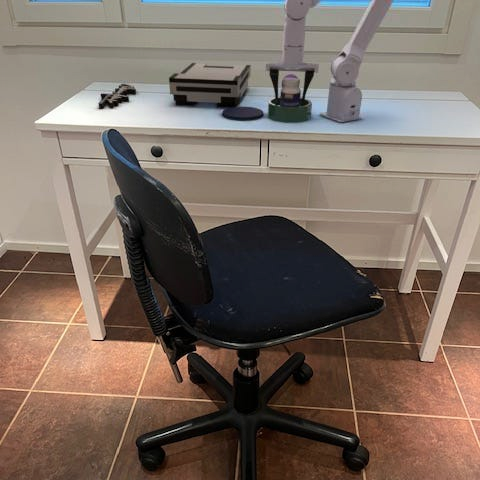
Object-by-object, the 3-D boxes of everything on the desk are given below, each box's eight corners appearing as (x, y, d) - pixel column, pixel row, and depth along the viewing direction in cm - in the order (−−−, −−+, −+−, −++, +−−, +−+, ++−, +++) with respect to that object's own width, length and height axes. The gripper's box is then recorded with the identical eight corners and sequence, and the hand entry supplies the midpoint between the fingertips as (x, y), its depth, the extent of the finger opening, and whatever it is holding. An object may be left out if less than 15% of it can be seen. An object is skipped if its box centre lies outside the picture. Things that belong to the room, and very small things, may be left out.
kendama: (276, 92, 150) (281, 73, 164) (279, 111, 153) (283, 92, 168) (295, 89, 148) (298, 70, 163) (297, 109, 152) (300, 89, 167)
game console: (250, 86, 173) (250, 61, 168) (237, 110, 148) (237, 80, 143) (193, 84, 175) (192, 59, 170) (171, 107, 150) (168, 77, 145)
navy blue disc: (272, 117, 142) (272, 113, 141) (235, 123, 137) (235, 119, 136) (249, 107, 150) (249, 104, 150) (214, 112, 145) (214, 109, 145)
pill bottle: (283, 119, 140) (285, 81, 134) (276, 114, 144) (278, 77, 138) (301, 118, 141) (304, 80, 135) (294, 113, 145) (297, 76, 139)
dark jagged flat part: (111, 83, 168) (139, 83, 168) (111, 88, 169) (140, 88, 169) (90, 103, 146) (123, 103, 146) (91, 108, 147) (124, 109, 147)
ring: (318, 118, 141) (320, 103, 139) (283, 124, 136) (284, 109, 133) (293, 108, 149) (294, 94, 147) (259, 114, 144) (260, 99, 142)
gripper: (320, 44, 134) (315, 96, 142) (268, 42, 135) (265, 94, 144) (320, 48, 128) (315, 102, 137) (266, 46, 130) (264, 100, 138)
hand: (289, 99), depth 140 cm, fingers open, 7 cm apart
